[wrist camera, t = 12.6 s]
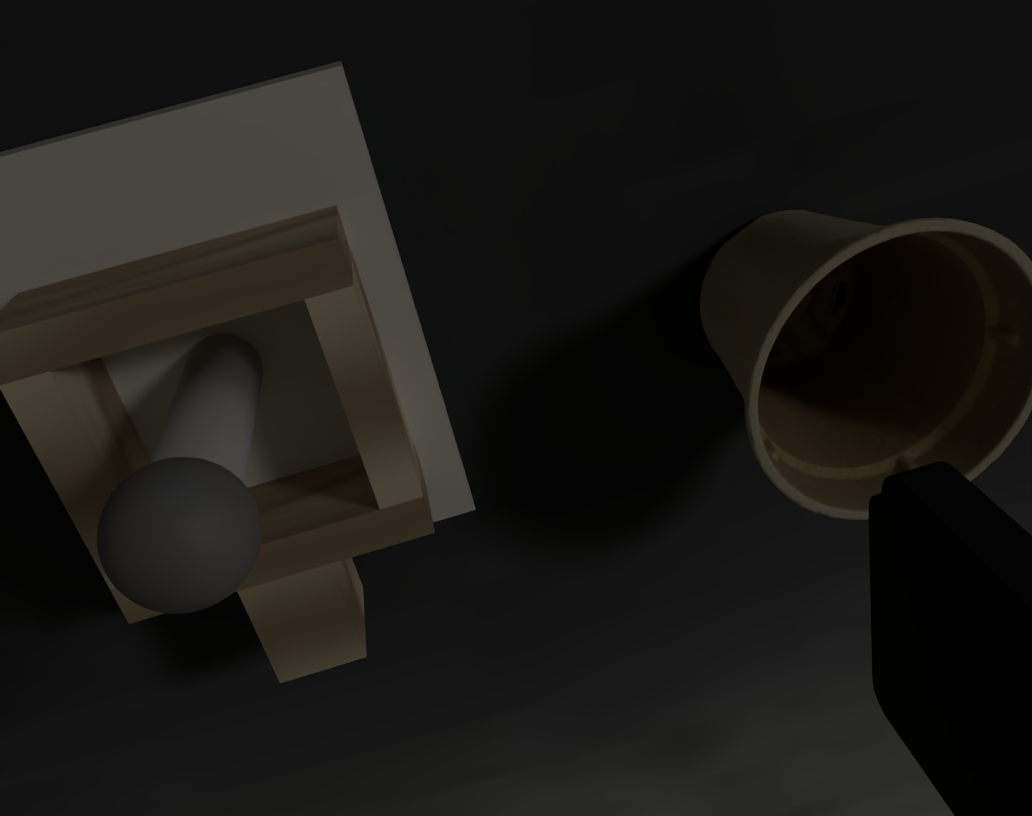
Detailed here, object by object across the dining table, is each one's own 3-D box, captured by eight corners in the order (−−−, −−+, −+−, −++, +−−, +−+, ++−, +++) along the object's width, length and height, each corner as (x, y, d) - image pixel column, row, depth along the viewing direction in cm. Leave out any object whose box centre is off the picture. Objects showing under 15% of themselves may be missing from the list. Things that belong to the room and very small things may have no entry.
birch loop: (18, 292, 28) (-27, 339, 25) (336, 204, 29) (337, 238, 25) (194, 637, 35) (178, 714, 31) (452, 559, 35) (465, 626, 32)
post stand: (-81, 173, 28) (-386, 328, 16) (340, 60, 29) (347, 128, 17) (139, 587, 35) (41, 904, 23) (470, 489, 36) (538, 747, 24)
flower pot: (630, 208, 32) (723, 284, 25) (883, 125, 33) (1054, 174, 25) (680, 435, 37) (773, 560, 29) (903, 359, 37) (1054, 463, 29)
